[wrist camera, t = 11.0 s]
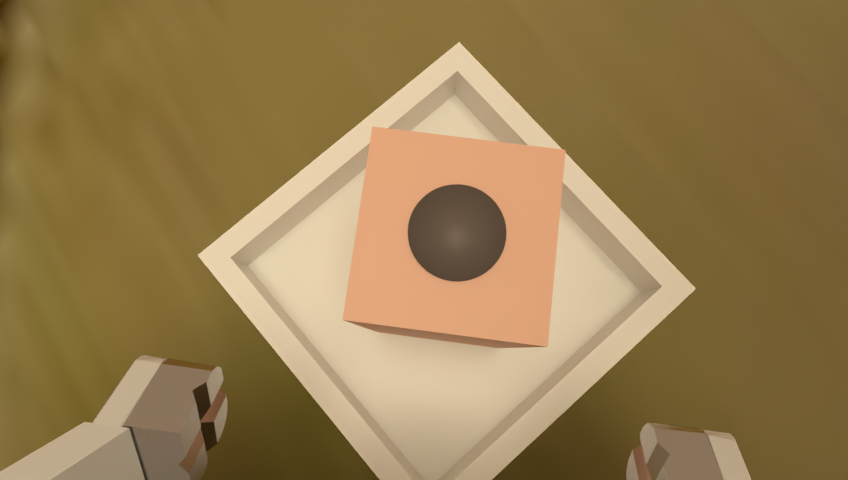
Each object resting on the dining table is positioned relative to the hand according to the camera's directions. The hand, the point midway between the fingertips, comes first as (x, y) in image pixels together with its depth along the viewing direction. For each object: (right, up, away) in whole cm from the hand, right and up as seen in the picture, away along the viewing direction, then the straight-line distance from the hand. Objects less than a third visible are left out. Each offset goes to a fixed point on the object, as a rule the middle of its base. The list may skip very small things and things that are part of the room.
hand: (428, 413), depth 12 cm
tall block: (+1, +2, +11) cm, 11 cm away
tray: (+1, +2, +11) cm, 11 cm away
